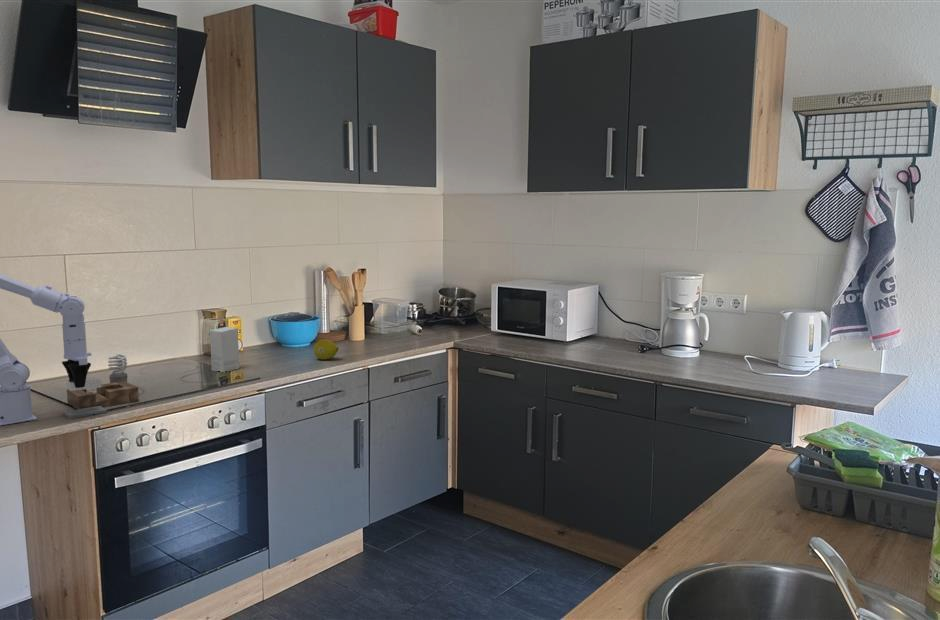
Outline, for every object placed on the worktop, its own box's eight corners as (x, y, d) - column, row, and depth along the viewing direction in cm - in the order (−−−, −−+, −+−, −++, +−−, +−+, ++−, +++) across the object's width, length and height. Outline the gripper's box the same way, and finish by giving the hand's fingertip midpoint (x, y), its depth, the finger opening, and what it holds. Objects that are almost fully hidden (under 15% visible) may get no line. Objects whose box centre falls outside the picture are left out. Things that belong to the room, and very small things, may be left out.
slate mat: (69, 418, 211) (69, 415, 211) (63, 414, 215) (63, 411, 215) (106, 412, 218) (106, 409, 218) (100, 408, 222) (100, 405, 222)
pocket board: (79, 411, 219) (78, 396, 219) (67, 403, 228) (66, 389, 227) (138, 401, 231) (138, 387, 230) (125, 394, 239) (124, 381, 239)
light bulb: (118, 392, 242) (116, 356, 240) (105, 391, 244) (103, 355, 242) (132, 389, 247) (130, 353, 245) (119, 387, 249) (117, 352, 247)
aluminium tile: (71, 390, 212) (70, 382, 211) (66, 388, 214) (66, 380, 214) (101, 387, 217) (100, 379, 217) (96, 384, 220) (96, 376, 220)
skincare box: (228, 367, 282) (226, 326, 281) (240, 369, 279) (239, 327, 277) (210, 371, 275) (208, 329, 273) (222, 373, 272) (221, 330, 270)
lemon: (308, 359, 297) (308, 340, 296) (322, 356, 303) (322, 337, 302) (328, 362, 291) (328, 342, 290) (342, 359, 297) (342, 339, 296)
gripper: (97, 340, 210) (100, 388, 212) (82, 334, 221) (85, 379, 222) (70, 343, 205) (73, 392, 207) (55, 337, 216) (59, 383, 218)
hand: (77, 386), depth 215 cm, fingers closed on aluminium tile, 4 cm apart
